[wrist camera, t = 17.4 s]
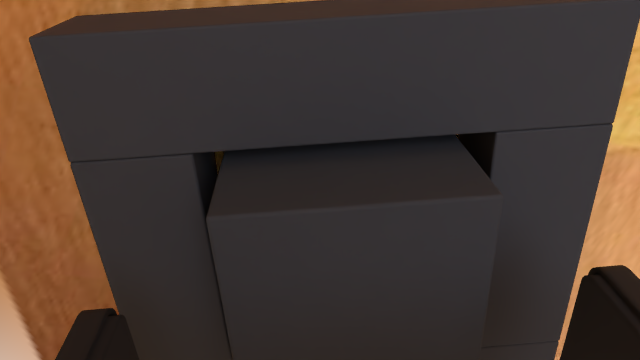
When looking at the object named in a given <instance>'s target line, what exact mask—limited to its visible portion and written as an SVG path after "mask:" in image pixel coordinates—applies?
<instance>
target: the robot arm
mask: <svg viewBox="0 0 640 360" xmlns="http://www.w3.org/2000/svg"><path fill="white" fill-rule="evenodd" d="M55 360H139V357H138V354H137V351H136V348H135V345H134V342H133V339H132V336H131V333H130V330H129V327H128V324H127V321H126V318H125V316H124V315H117V313H116V311H115V310H114V309H113V308H107V309H95V310H83V311H82V312H80V313H79V315H78V316H77V318H76V320H75V322H74V324H73V326H72V328H71V330H70V331H69V333H68V335H67V337H66V339H65V341H64V343H63V345H62V347H61V349H60V351H59V353H58V355H57V357H56V359H55ZM560 360H640V279H639V278H638V277H637V276H636V275H635V274H634V273H633V272H632V271H631V270H630V269H628V268H627V267H626V266H623V265H618V266H606V267H596V268H592V269H591V270H590V272H589V274H588V275H586V276H584V277H583V278H582V280H581V284H580V288H579V291H578V295H577V299H576V302H575V306H574V310H573V313H572V317H571V321H570V324H569V328H568V332H567V335H566V339H565V343H564V346H563V350H562V354H561V357H560Z"/></svg>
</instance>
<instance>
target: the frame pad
mask: <svg viewBox="0 0 640 360" xmlns="http://www.w3.org/2000/svg"><path fill="white" fill-rule="evenodd" d="M639 19H640V0H323V1H307V2H291V3H275V4H259V5H244V6H228V7H212V8H196V9H180V10H164V11H149V12H133V13H117V14H101V15H85V16H76V17H73V18H71V19H69V20H67V21H65V22H62V23H60V24H58V25H56V26H53V27H51V28H49V29H47V30H44V31H42V32H40V33H38V34H36V35H33V36H31V37H29V42H30V45H31V48H32V51H33V54H34V57H35V60H36V63H37V66H38V69H39V72H40V75H41V78H42V81H43V84H44V87H45V90H46V93H47V96H48V99H49V102H50V105H51V108H52V111H53V114H54V118H55V121H56V124H57V127H58V130H59V133H60V136H61V139H62V142H63V145H64V148H65V151H66V154H67V157H68V160H69V161H70V162H71V169H72V172H73V175H74V178H75V181H76V184H77V187H78V190H79V193H80V196H81V199H82V202H83V205H84V208H85V211H86V214H87V217H88V220H89V224H90V227H91V230H92V233H93V236H94V239H95V242H96V245H97V248H98V251H99V254H100V257H101V260H102V263H103V266H104V269H105V272H106V275H107V278H108V281H109V284H110V287H111V290H112V293H113V296H114V299H115V302H116V306H117V309H118V312H119V315H124V316H125V318H126V321H127V324H128V327H129V330H130V333H131V336H132V339H133V342H134V345H135V348H136V351H137V354H138V357H139V360H233V358H232V353H231V347H230V342H229V337H228V332H227V327H226V321H225V316H224V311H223V306H222V301H221V295H220V290H219V285H218V280H217V275H216V269H215V264H214V259H213V254H212V249H211V243H210V238H209V233H208V228H207V223H206V218H207V214H208V210H209V206H210V203H211V199H212V195H213V192H214V188H215V184H216V181H217V177H218V172H217V166H216V161H215V155H214V152H219V151H233V150H247V149H261V148H275V147H289V146H303V145H317V144H331V143H345V142H359V141H373V140H387V139H401V138H415V137H429V136H443V135H457V134H459V140H460V142H461V143H462V144H463V145H464V147H465V148H466V149H467V150H468V152H469V153H470V154H471V155H472V157H473V158H474V159H475V161H476V162H477V163H478V164H479V166H480V167H481V168H482V169H483V171H484V172H485V173H486V174H487V176H488V177H489V178H490V179H491V181H492V182H493V183H494V185H495V186H496V187H497V188H498V190H499V191H500V192H501V193H502V195H503V204H502V210H501V217H500V224H499V231H498V237H497V244H496V251H495V258H494V265H493V271H492V278H491V285H490V292H489V299H488V305H487V312H486V319H485V326H484V332H483V339H482V346H481V353H480V360H554V358H555V354H556V350H557V346H558V340H559V339H560V335H561V331H562V327H563V323H564V319H565V315H566V311H567V307H568V303H569V299H570V295H571V291H572V287H573V283H574V279H575V275H576V271H577V267H578V263H579V259H580V255H581V251H582V247H583V243H584V239H585V235H586V231H587V227H588V223H589V219H590V215H591V211H592V207H593V203H594V199H595V195H596V191H597V187H598V183H599V179H600V175H601V171H602V167H603V163H604V159H605V155H606V151H607V147H608V143H609V139H610V135H611V131H612V127H613V125H612V124H611V123H613V122H614V119H615V115H616V111H617V107H618V103H619V99H620V95H621V91H622V87H623V83H624V79H625V75H626V71H627V67H628V63H629V59H630V55H631V51H632V47H633V43H634V39H635V35H636V31H637V27H638V23H639Z"/></svg>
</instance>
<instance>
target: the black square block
mask: <svg viewBox="0 0 640 360" xmlns="http://www.w3.org/2000/svg"><path fill="white" fill-rule="evenodd" d="M502 204H503V195H502V193H501V192H500V191H499V190H498V188H497V187H496V186H495V185H494V183H493V182H492V181H491V179H490V178H489V177H488V176H487V174H486V173H485V172H484V171H483V169H482V168H481V167H480V166H479V164H478V163H477V162H476V161H475V159H474V158H473V157H472V155H471V154H470V153H469V152H468V150H467V149H466V148H465V147H464V145H463V144H462V143H461V142H460V140H459V139H458V138H457V137H456V135H443V136H429V137H415V138H401V139H387V140H373V141H359V142H345V143H331V144H317V145H303V146H289V147H275V148H261V149H247V150H233V151H224V155H223V159H222V162H221V166H220V170H219V173H218V177H217V181H216V184H215V188H214V192H213V195H212V199H211V203H210V206H209V210H208V214H207V218H206V223H207V228H208V233H209V238H210V243H211V249H212V254H213V259H214V264H215V269H216V275H217V280H218V285H219V290H220V295H221V301H222V306H223V311H224V316H225V321H226V327H227V332H228V337H229V342H230V347H231V353H232V358H233V360H480V353H481V346H482V339H483V332H484V326H485V319H486V312H487V305H488V299H489V292H490V285H491V278H492V271H493V265H494V258H495V251H496V244H497V237H498V231H499V224H500V217H501V210H502Z"/></svg>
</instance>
